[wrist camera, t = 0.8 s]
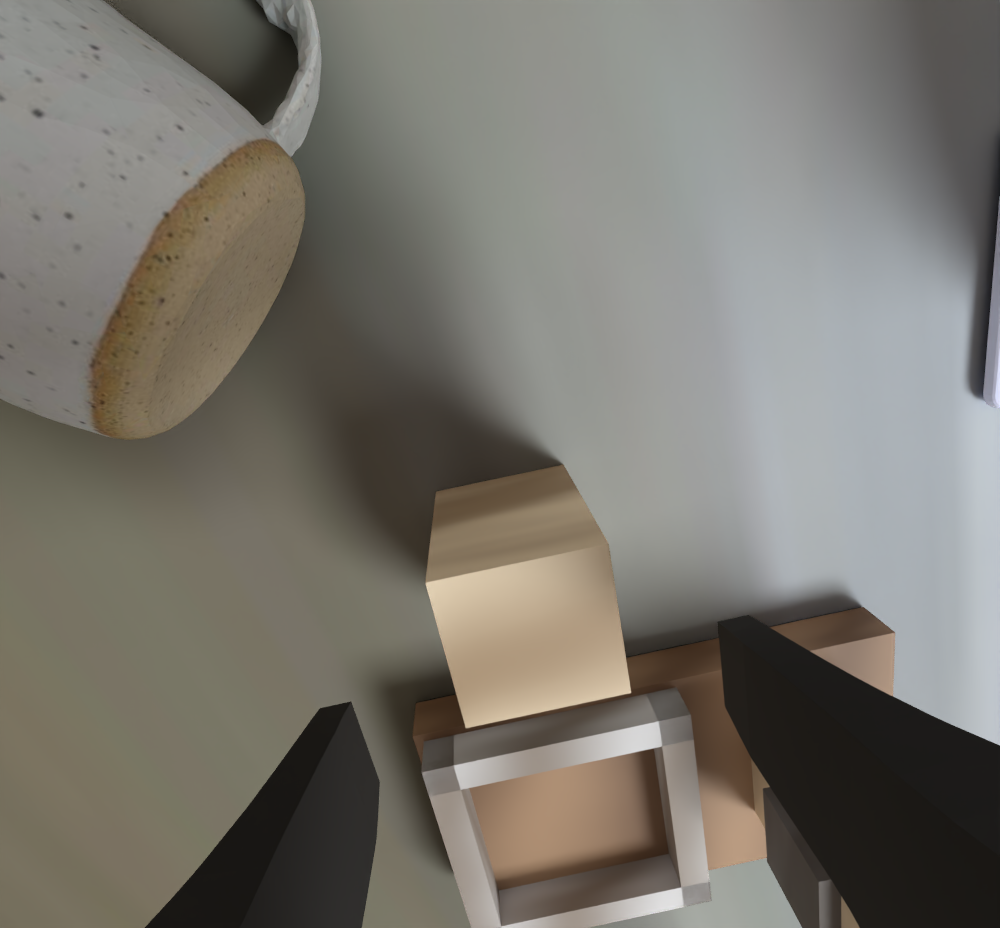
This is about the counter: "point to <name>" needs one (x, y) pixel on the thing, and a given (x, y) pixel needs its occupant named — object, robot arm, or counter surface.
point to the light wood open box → (628, 793)
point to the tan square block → (524, 597)
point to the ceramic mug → (136, 215)
